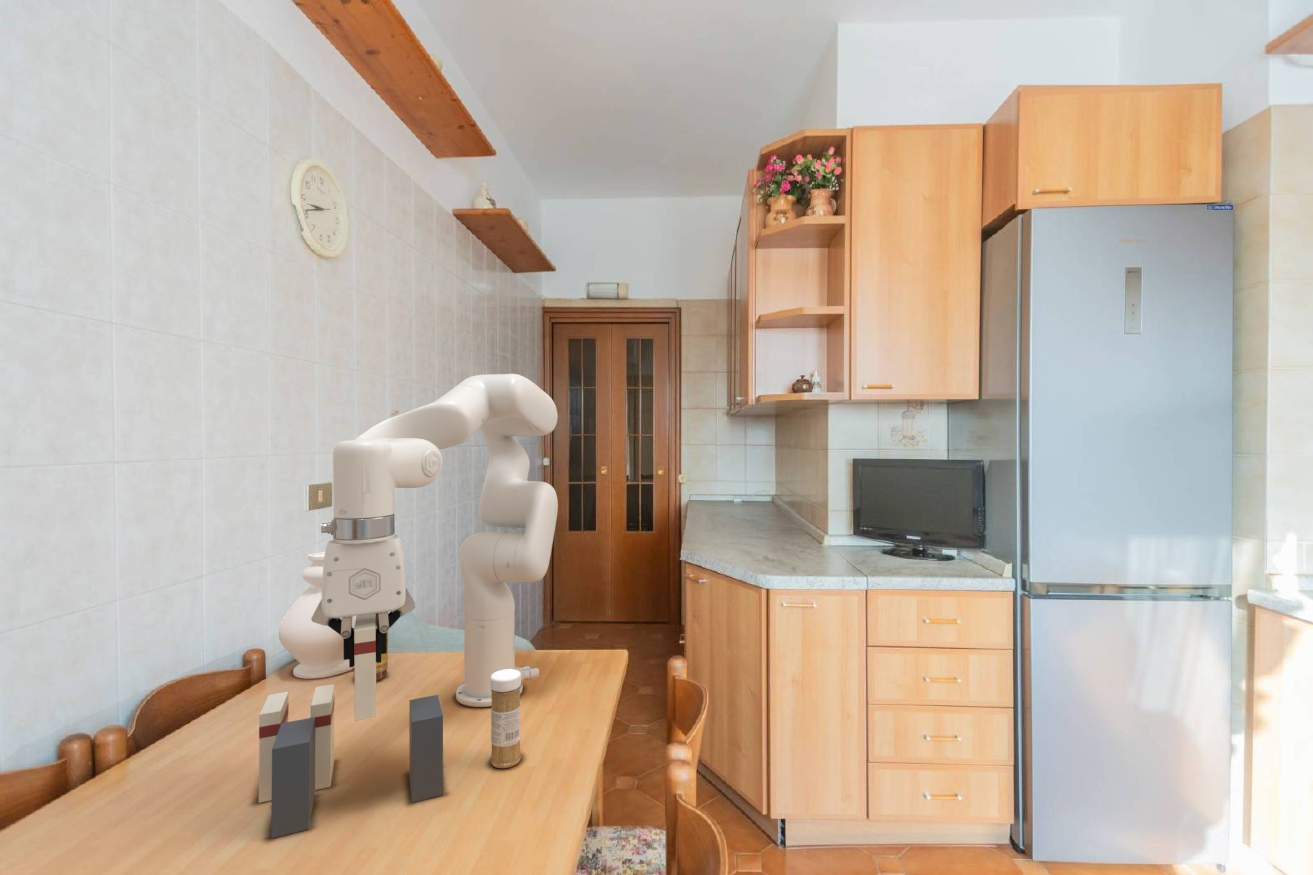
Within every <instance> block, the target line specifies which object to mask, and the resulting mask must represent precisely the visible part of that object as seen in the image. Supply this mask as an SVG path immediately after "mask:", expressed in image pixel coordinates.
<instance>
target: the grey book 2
mask: <svg viewBox="0 0 1313 875" xmlns="http://www.w3.org/2000/svg"><path fill="white" fill-rule="evenodd" d="M408 708H409V709H408V710H409V713H408V714H409V715H408V716H409V718H408V721H409V723H408V725H409V726H408V730H409V733H408V735H409V736H408V737H409V738H408V744H409V746H408V747H409V749H408V750H409V751H408V752H409V754H408V757H409V758H408V760H409V761H408V765H409V766H408V769H409V770H408V775H409V786H410V800H411V803H412V804H413V803H418V802H421V801H426V800H429V799H433V798H436V797H441V796H443V795H444V713H443V709H442V705H441V701H440V696H439V694H435V695H429V696H425V697H424V696H423V697H418V698H412V699H409V706H408Z"/></svg>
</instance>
